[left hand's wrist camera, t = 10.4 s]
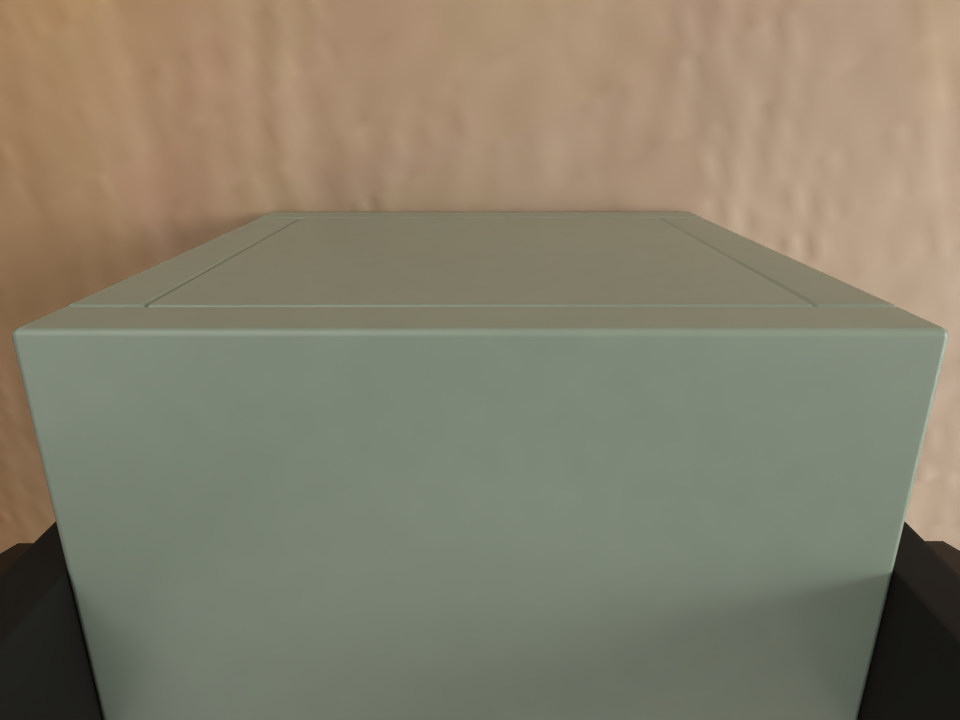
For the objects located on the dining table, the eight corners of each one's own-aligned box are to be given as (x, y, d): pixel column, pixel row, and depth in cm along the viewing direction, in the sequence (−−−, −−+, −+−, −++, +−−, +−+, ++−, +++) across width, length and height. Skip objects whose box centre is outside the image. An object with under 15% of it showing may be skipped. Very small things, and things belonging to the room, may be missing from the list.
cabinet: (630, 813, 24) (728, 1269, 14) (331, 813, 24) (233, 1269, 14) (690, 211, 17) (954, 328, 7) (270, 211, 17) (5, 329, 7)
